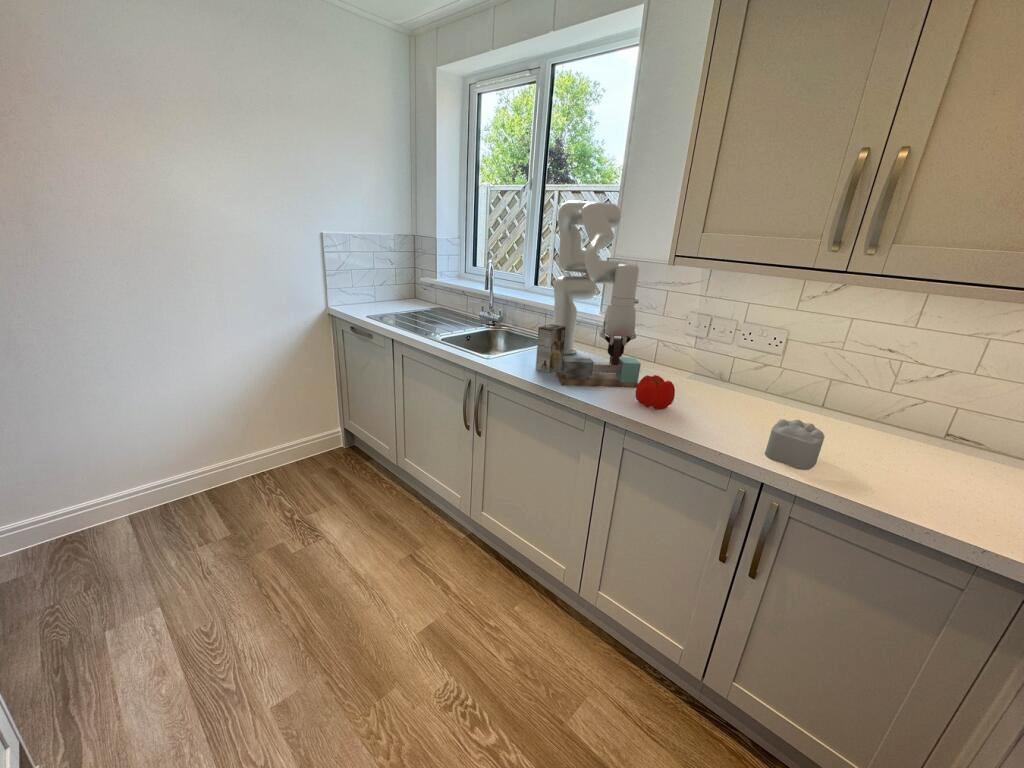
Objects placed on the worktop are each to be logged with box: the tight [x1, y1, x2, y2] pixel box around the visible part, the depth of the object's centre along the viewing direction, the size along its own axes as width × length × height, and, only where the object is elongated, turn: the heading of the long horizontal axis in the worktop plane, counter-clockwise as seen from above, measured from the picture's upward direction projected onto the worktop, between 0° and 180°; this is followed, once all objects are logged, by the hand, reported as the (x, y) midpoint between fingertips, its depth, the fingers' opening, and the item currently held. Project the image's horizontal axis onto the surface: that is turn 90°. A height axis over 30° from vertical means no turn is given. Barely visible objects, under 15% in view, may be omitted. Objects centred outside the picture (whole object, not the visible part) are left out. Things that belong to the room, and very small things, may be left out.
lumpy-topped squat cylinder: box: [764, 418, 825, 471], centre depth 109 cm, size 10×13×9 cm
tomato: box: [635, 374, 676, 411], centre depth 136 cm, size 11×12×9 cm
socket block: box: [614, 356, 641, 383], centre depth 156 cm, size 6×7×7 cm
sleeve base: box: [556, 356, 639, 389], centre depth 156 cm, size 27×12×7 cm, turn 93°
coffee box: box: [535, 323, 566, 374], centre depth 165 cm, size 9×6×16 cm
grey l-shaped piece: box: [593, 337, 622, 374], centre depth 154 cm, size 16×3×12 cm, turn 93°
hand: (615, 355), depth 154 cm, fingers closed on grey l-shaped piece, 2 cm apart
